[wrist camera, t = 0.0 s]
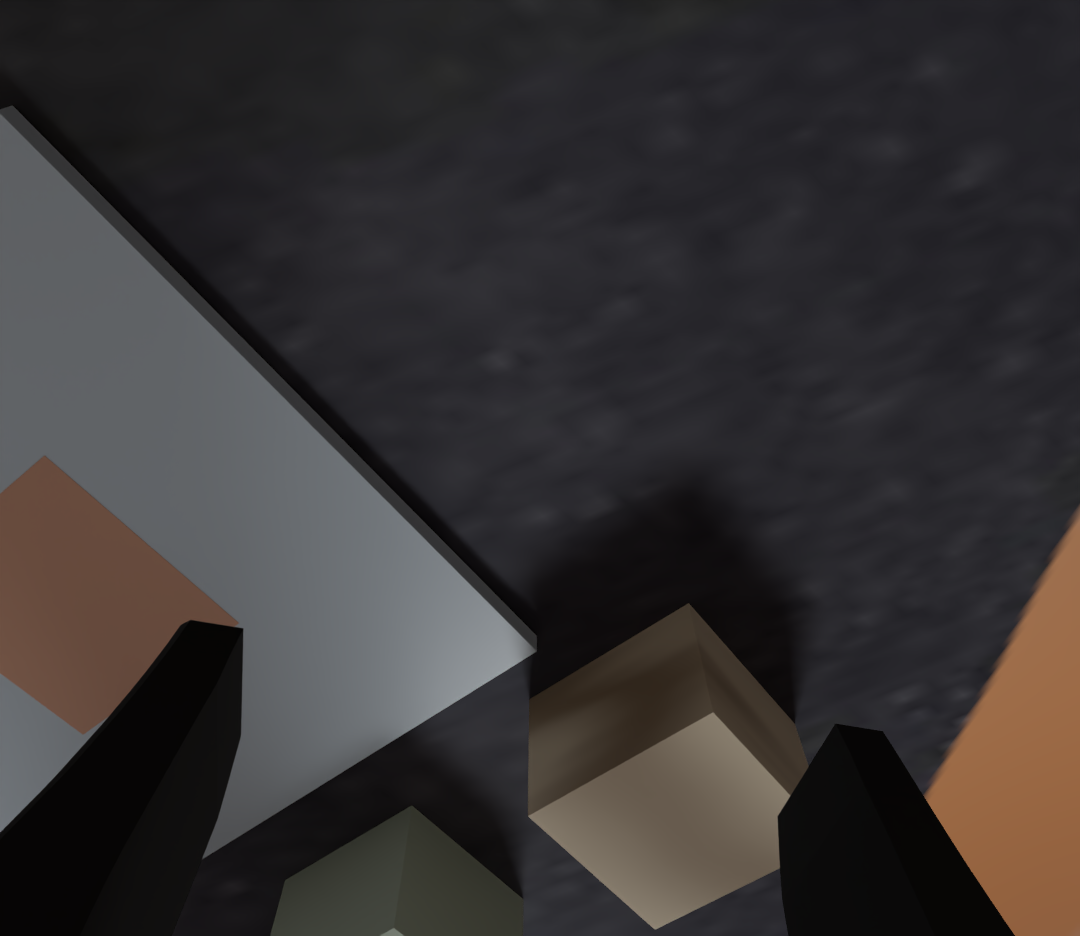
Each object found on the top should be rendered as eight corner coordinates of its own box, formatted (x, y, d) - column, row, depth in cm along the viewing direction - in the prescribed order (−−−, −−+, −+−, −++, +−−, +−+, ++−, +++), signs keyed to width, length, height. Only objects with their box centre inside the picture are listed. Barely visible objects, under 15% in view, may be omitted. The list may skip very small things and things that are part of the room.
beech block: (640, 802, 28) (654, 929, 24) (529, 695, 26) (528, 816, 22) (793, 719, 26) (832, 841, 23) (688, 599, 24) (712, 712, 21)
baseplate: (116, 899, 29) (108, 917, 29) (-410, 545, 23) (-432, 559, 23) (536, 635, 25) (536, 651, 24) (12, 105, 19) (-3, 110, 18)
